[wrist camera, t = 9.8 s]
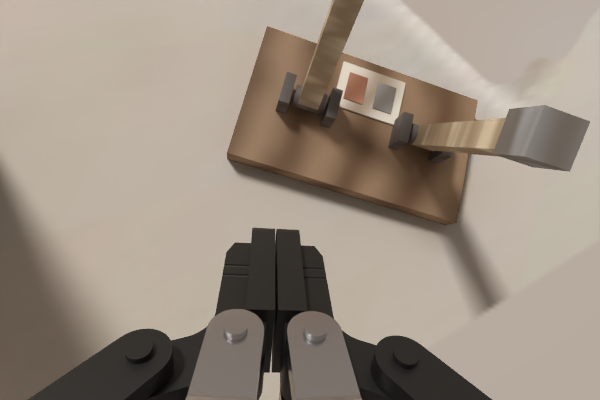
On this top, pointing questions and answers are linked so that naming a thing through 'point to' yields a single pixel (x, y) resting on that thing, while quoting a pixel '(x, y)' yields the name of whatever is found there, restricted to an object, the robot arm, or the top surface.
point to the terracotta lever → (326, 55)
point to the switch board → (351, 131)
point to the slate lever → (510, 137)
